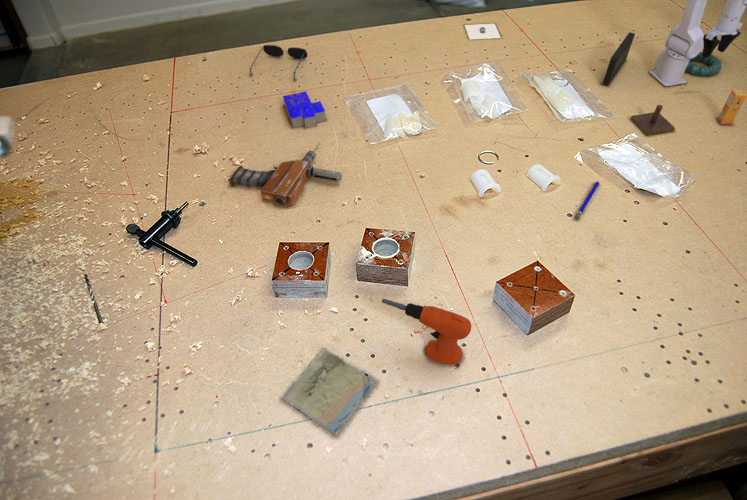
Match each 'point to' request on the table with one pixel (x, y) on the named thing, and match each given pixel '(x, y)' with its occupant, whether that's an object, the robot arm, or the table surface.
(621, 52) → the nameplate
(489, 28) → the white square panel
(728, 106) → the supplement box
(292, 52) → the sunglasses
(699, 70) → the ring
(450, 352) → the toy drill
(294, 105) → the blue grey stepped block
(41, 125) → the table surface
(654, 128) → the stand
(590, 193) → the pencil
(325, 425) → the topographic map
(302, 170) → the tool
